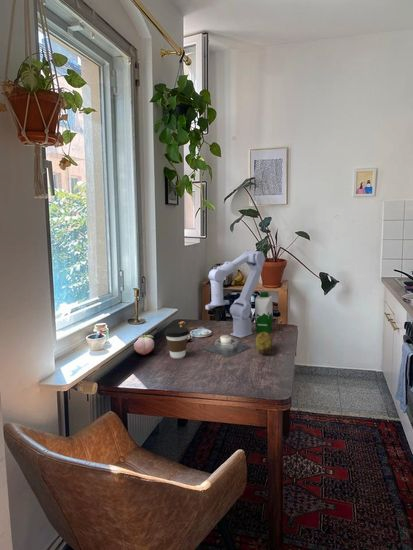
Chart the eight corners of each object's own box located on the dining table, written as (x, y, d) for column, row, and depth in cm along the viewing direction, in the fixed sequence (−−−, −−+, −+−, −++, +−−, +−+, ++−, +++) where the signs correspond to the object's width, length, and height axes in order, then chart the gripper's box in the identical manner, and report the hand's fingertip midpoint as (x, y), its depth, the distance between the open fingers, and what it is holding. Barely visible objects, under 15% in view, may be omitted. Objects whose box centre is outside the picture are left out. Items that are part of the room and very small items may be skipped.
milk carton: (273, 328, 217) (273, 292, 214) (271, 333, 208) (270, 295, 205) (257, 327, 220) (256, 291, 216) (254, 332, 211) (253, 295, 208)
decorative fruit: (152, 350, 190) (151, 329, 188) (156, 355, 182) (155, 334, 181) (132, 353, 187) (130, 332, 185) (135, 359, 179) (134, 337, 178)
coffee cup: (186, 361, 175) (185, 334, 173) (162, 359, 177) (161, 333, 175) (192, 352, 186) (191, 326, 184) (169, 351, 188) (168, 326, 186)
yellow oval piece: (251, 355, 179) (250, 337, 178) (258, 345, 191) (257, 329, 190) (269, 357, 176) (269, 339, 175) (275, 347, 188) (275, 330, 187)
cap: (225, 344, 192) (225, 333, 191) (233, 346, 189) (233, 335, 188) (218, 347, 189) (218, 336, 188) (226, 349, 185) (226, 338, 184)
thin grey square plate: (225, 340, 200) (225, 333, 199) (251, 348, 188) (250, 340, 188) (202, 349, 189) (201, 341, 188) (227, 357, 178) (227, 349, 177)
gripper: (221, 290, 205) (222, 316, 207) (200, 295, 195) (201, 322, 197) (232, 292, 200) (232, 319, 202) (210, 297, 190) (211, 325, 192)
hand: (218, 321), depth 199 cm, fingers closed
